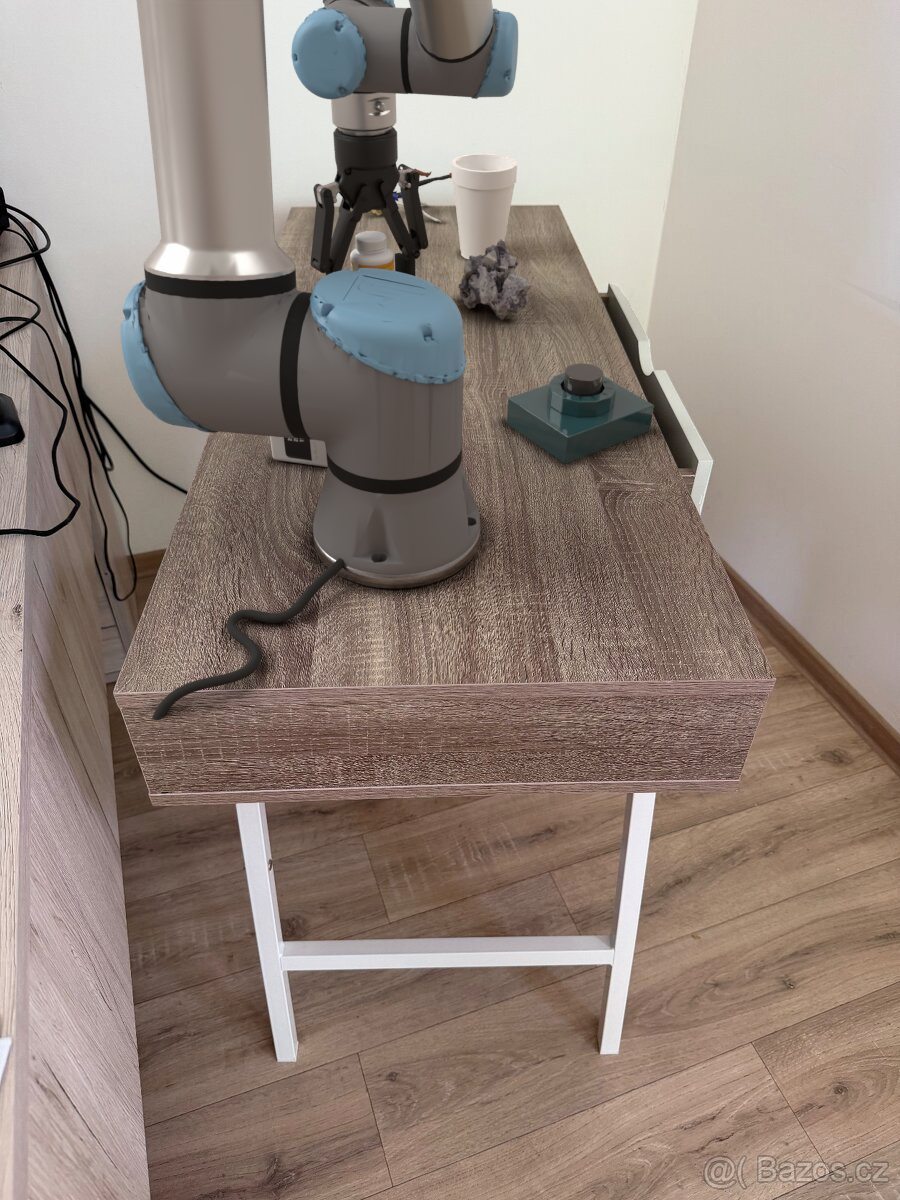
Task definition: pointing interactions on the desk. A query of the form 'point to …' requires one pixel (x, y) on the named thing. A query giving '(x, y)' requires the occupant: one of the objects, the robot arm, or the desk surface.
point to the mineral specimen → (494, 281)
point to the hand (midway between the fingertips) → (373, 312)
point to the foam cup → (482, 199)
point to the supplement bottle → (371, 252)
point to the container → (299, 450)
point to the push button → (583, 380)
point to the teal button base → (578, 418)
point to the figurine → (421, 183)
